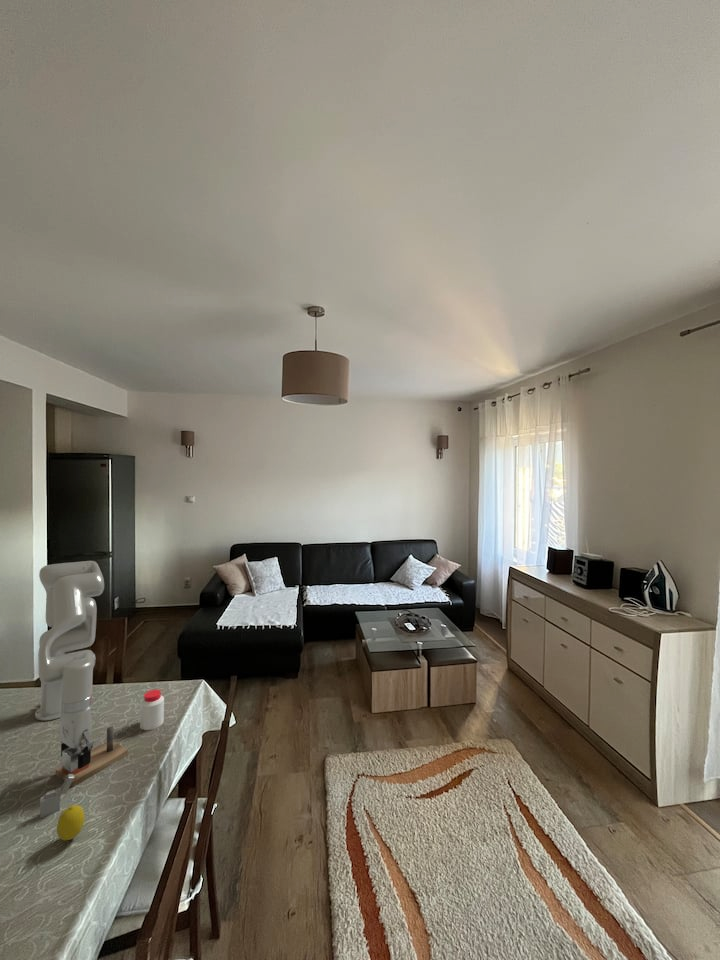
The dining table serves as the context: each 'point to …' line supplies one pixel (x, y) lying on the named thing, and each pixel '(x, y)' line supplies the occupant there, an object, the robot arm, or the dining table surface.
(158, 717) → the pill bottle
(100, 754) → the pin board
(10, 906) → the dining table surface
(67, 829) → the lemon
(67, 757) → the sleeve
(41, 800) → the grey flat piece
